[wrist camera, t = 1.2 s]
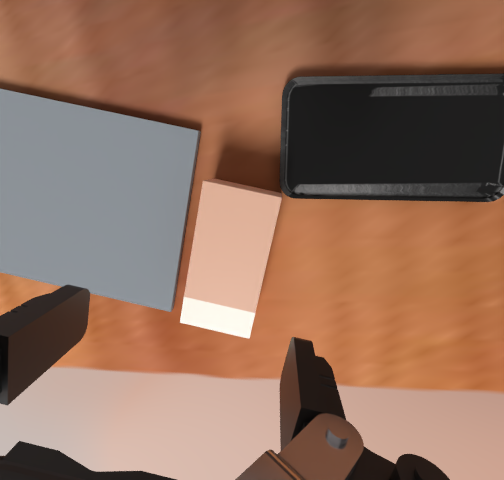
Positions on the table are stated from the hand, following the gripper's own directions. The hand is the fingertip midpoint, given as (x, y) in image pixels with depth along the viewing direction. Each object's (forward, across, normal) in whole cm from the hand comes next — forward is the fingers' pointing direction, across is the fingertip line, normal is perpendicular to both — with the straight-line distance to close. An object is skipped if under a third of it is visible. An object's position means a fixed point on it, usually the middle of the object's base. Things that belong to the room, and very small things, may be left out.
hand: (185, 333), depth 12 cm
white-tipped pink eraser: (+12, 0, 0) cm, 12 cm away
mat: (+12, +13, -1) cm, 18 cm away
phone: (+12, -9, -10) cm, 19 cm away
